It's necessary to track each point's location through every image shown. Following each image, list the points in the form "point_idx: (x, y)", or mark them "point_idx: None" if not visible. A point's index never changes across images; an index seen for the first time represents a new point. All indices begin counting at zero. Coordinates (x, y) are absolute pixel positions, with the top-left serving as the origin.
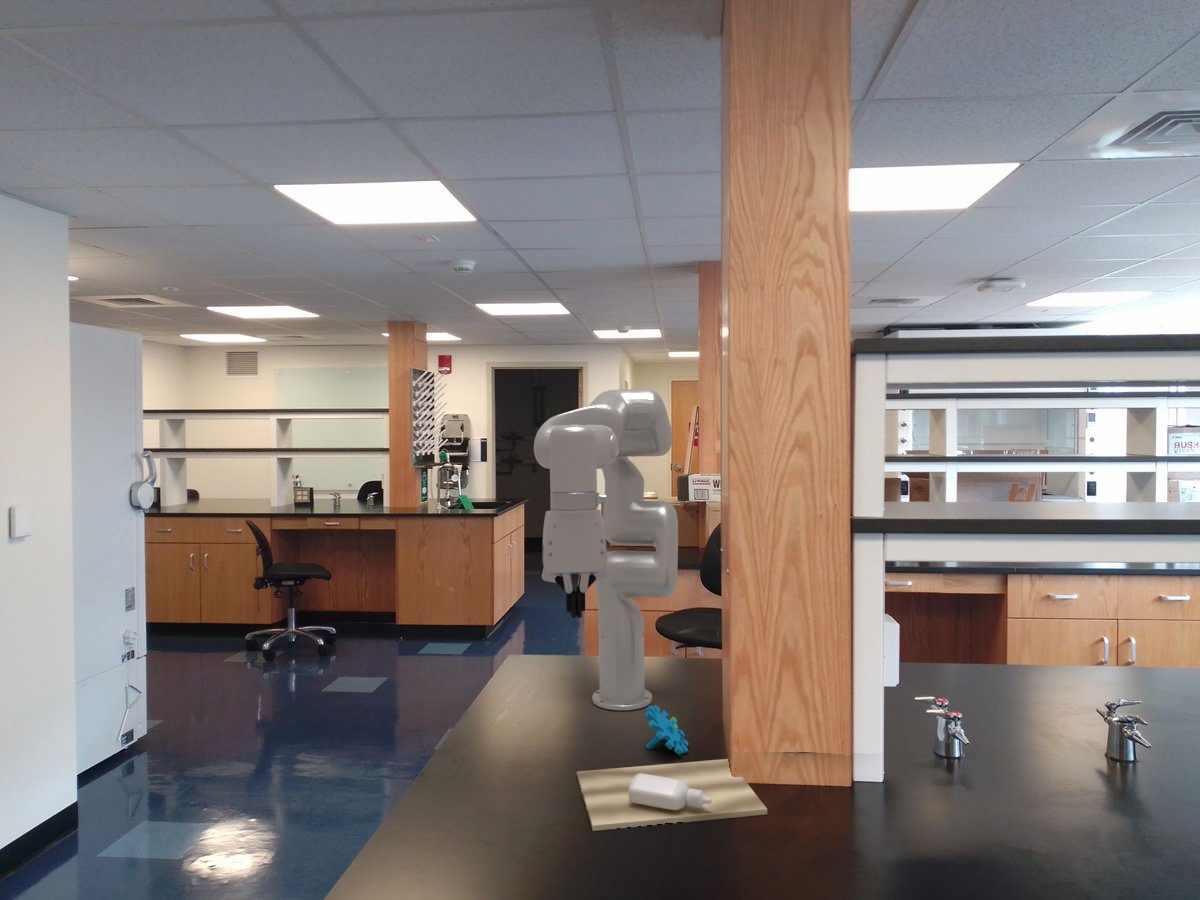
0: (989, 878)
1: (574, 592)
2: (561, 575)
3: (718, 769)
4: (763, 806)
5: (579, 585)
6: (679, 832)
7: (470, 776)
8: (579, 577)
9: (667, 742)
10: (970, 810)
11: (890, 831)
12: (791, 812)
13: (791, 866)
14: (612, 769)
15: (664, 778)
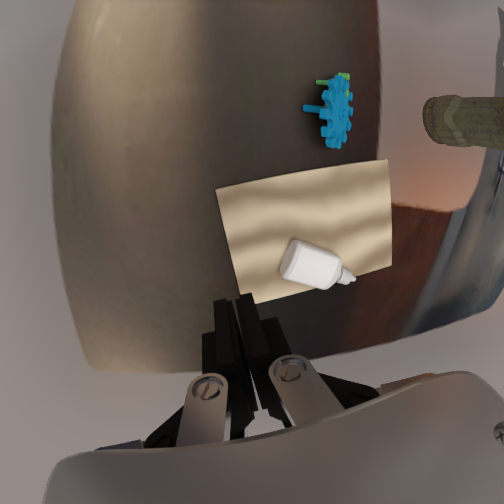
0: (450, 316)
1: (250, 395)
2: (176, 445)
3: (374, 185)
4: (390, 260)
5: (281, 410)
6: (317, 297)
7: (91, 199)
8: (291, 422)
9: (335, 146)
10: (481, 247)
11: (442, 277)
12: (404, 258)
13: (377, 326)
14: (260, 182)
15: (322, 264)
